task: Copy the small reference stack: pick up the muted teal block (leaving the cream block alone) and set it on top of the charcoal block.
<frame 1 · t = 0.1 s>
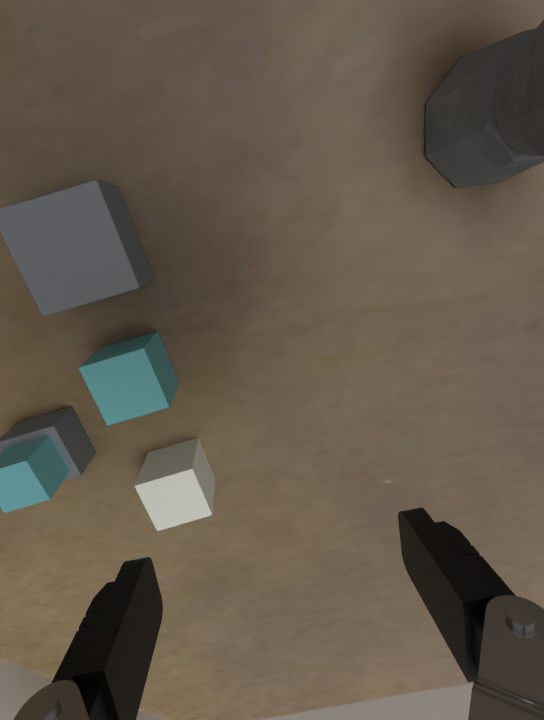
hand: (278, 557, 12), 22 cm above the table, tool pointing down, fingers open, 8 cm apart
reference stack: (58, 437, 34), on the table
coffeepot: (481, 138, 29), on the table
charcoal block: (95, 248, 29), on the table
teal block: (141, 365, 33), on the table
cream block: (182, 465, 36), on the table
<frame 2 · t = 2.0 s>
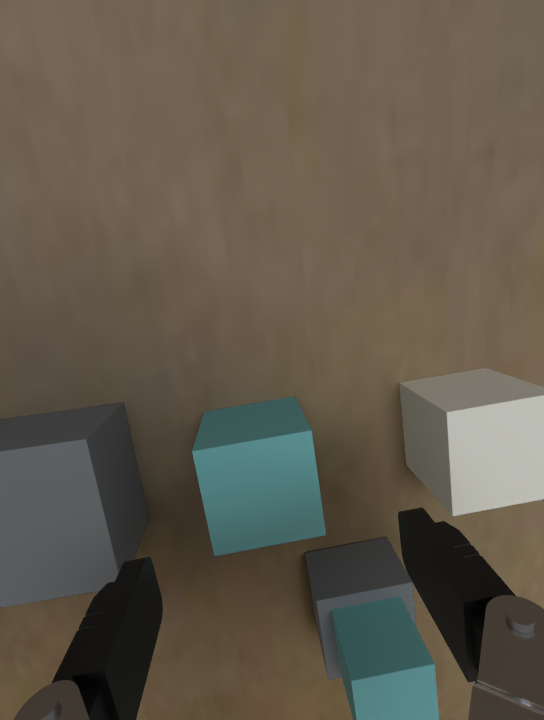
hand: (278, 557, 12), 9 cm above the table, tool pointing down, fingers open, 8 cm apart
reference stack: (350, 580, 23), on the table
charcoal block: (72, 471, 20), on the table
teal block: (257, 445, 21), on the table
cream block: (444, 416, 21), on the table
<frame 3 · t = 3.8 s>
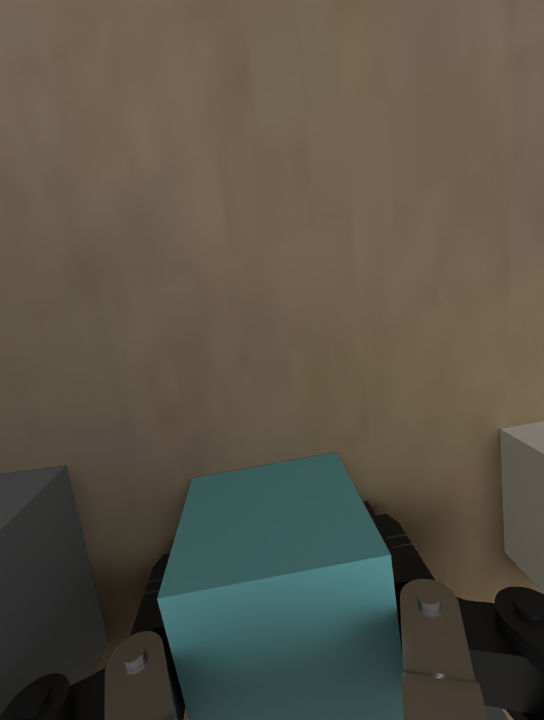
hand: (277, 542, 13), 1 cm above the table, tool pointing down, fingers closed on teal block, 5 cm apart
teal block: (276, 529, 13), on the table, touching gripper
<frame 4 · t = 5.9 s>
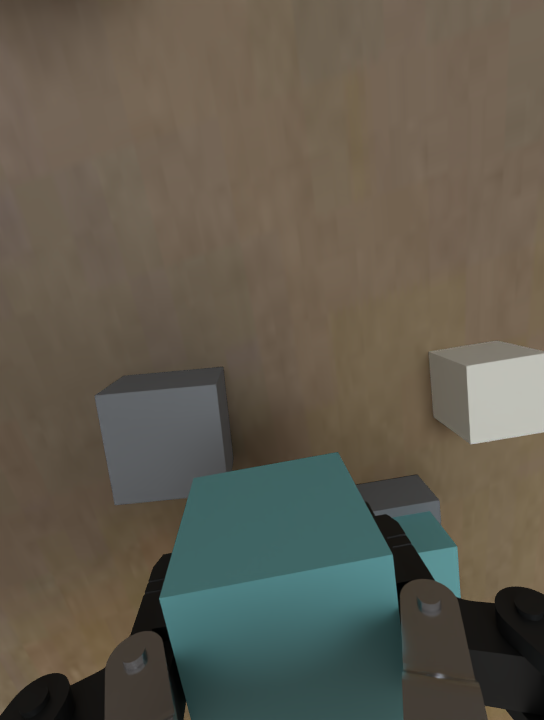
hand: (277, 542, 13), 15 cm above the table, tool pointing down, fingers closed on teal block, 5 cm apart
reference stack: (388, 508, 29), on the table
charcoal block: (180, 417, 27), on the table
teal block: (277, 529, 13), point 14 cm above the table, touching gripper
cream block: (463, 379, 27), on the table
when the fingers open (7 cm above the table, at t = 8.0 s): teal block drops 2 cm, resting on charcoal block.
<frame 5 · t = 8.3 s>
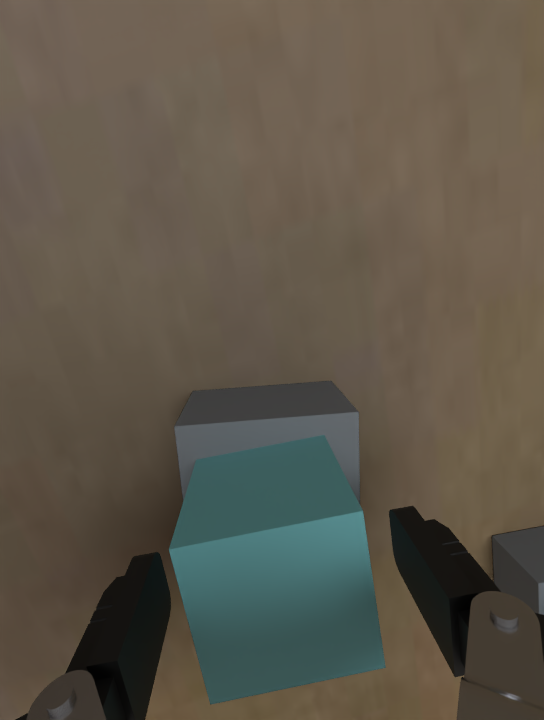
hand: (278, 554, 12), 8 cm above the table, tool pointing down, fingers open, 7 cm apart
reference stack: (534, 565, 22), on the table
charcoal block: (266, 448, 20), on the table, touching teal block
teal block: (271, 504, 15), point 5 cm above the table, touching charcoal block
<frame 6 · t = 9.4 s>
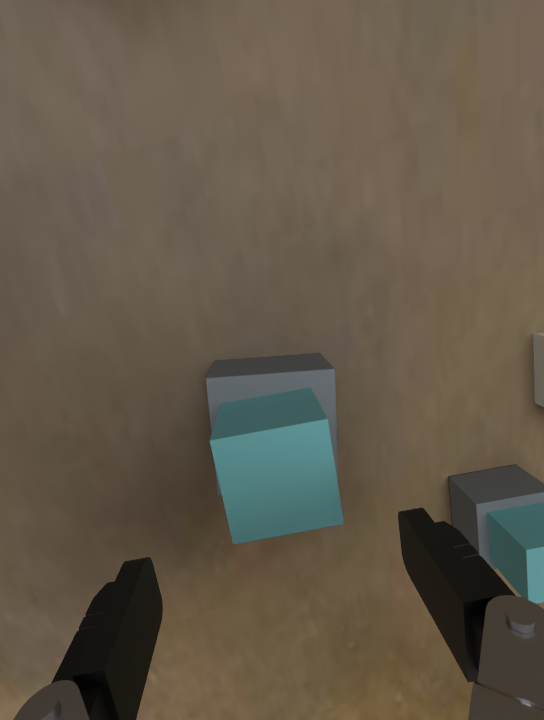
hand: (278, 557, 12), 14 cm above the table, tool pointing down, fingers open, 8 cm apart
reference stack: (484, 501, 28), on the table
charcoal block: (271, 406, 26), on the table, touching teal block
teal block: (273, 437, 21), point 5 cm above the table, touching charcoal block
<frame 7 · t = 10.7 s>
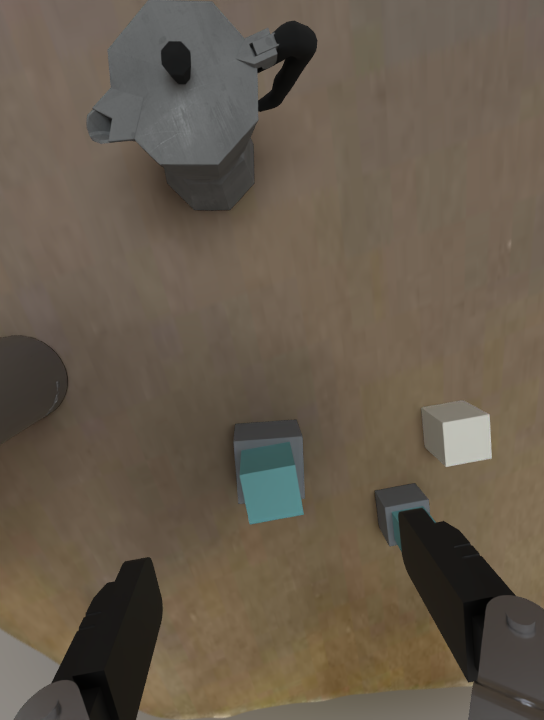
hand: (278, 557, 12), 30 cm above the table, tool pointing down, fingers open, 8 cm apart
reference stack: (396, 505, 46), on the table
coffeepot: (220, 160, 37), on the table
charcoal block: (267, 449, 44), on the table, touching teal block
teal block: (269, 468, 39), point 5 cm above the table, touching charcoal block
cream block: (443, 423, 44), on the table
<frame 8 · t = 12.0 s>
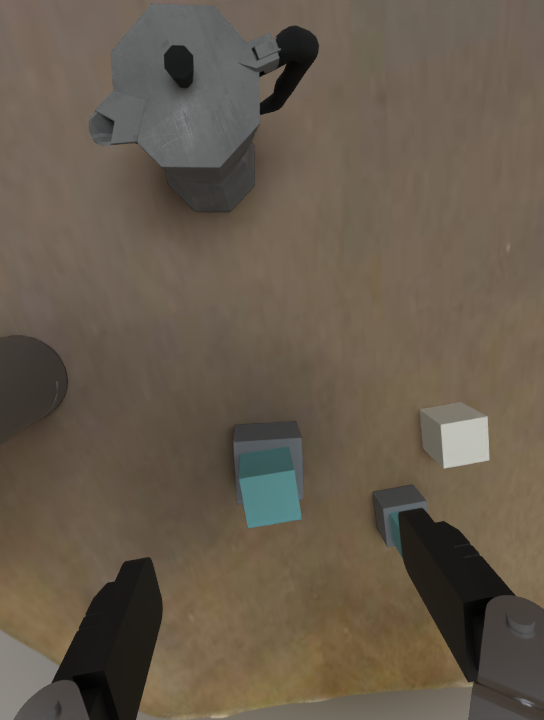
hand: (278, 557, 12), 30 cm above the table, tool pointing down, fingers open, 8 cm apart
reference stack: (394, 506, 46), on the table
coffeepot: (221, 162, 37), on the table
charcoal block: (266, 450, 44), on the table, touching teal block
teal block: (268, 472, 39), point 5 cm above the table, touching charcoal block
cream block: (441, 425, 44), on the table
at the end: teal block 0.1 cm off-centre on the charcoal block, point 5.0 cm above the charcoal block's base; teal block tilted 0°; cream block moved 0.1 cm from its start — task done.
